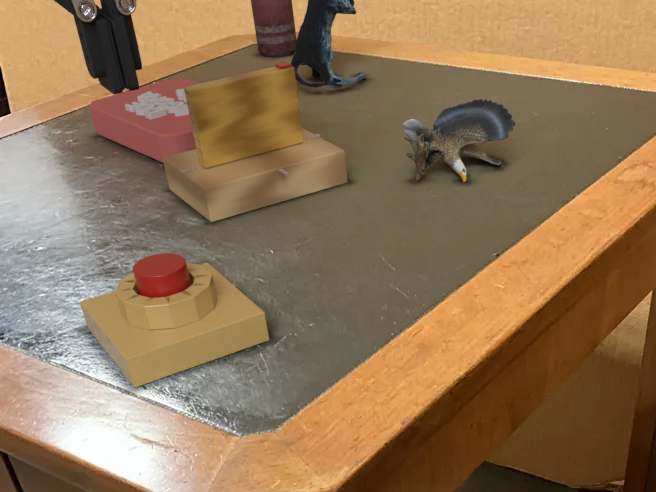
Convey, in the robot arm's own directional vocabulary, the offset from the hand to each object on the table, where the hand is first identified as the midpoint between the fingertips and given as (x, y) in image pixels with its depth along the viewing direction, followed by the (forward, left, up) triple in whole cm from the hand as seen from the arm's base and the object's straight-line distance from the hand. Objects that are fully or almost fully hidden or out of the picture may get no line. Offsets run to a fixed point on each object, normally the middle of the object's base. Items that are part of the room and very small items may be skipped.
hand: (119, 86), depth 56 cm
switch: (-1, -2, -16) cm, 16 cm away
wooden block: (+16, +20, -13) cm, 28 cm away
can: (+39, +62, -16) cm, 75 cm away
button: (-1, -2, -12) cm, 13 cm away
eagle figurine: (+32, +10, -16) cm, 37 cm away
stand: (+16, +20, -16) cm, 30 cm away
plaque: (+17, +39, -16) cm, 45 cm away
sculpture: (+38, +44, -16) cm, 60 cm away
